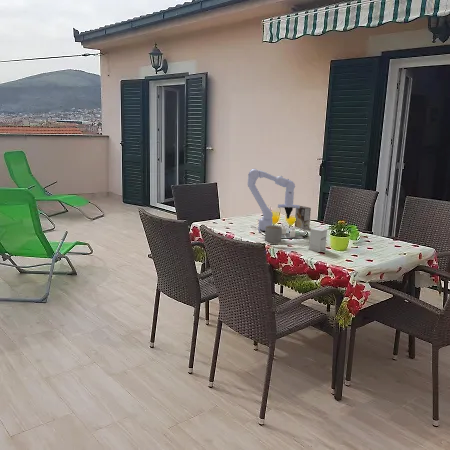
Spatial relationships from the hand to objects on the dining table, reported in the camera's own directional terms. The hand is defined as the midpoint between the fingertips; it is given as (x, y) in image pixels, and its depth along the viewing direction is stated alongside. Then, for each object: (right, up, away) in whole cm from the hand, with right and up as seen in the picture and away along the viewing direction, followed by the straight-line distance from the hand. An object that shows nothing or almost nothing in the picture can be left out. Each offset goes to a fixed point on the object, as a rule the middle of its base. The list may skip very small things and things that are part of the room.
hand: (287, 218), depth 313 cm
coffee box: (+12, -8, +14) cm, 20 cm away
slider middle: (-4, -11, -9) cm, 15 cm away
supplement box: (+12, -19, -39) cm, 45 cm away
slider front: (+1, -12, -16) cm, 20 cm away
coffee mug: (-12, -16, -26) cm, 33 cm away
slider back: (-4, -9, -3) cm, 10 cm away
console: (0, -12, -10) cm, 16 cm away
